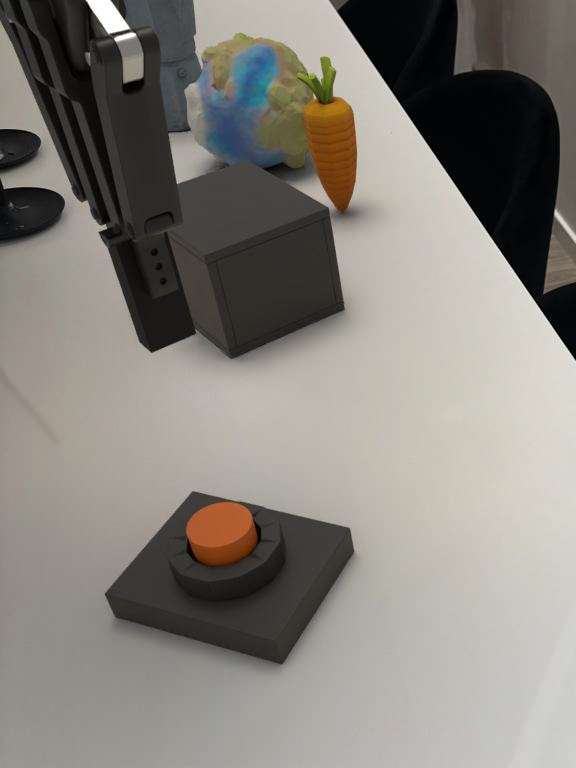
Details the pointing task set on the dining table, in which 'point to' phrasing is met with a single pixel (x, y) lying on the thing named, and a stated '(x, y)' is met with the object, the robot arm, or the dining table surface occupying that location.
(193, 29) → the moka pot
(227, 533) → the button
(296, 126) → the decorative rock
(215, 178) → the dark grey panelled cube
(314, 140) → the carrot
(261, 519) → the control pad
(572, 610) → the dining table surface
